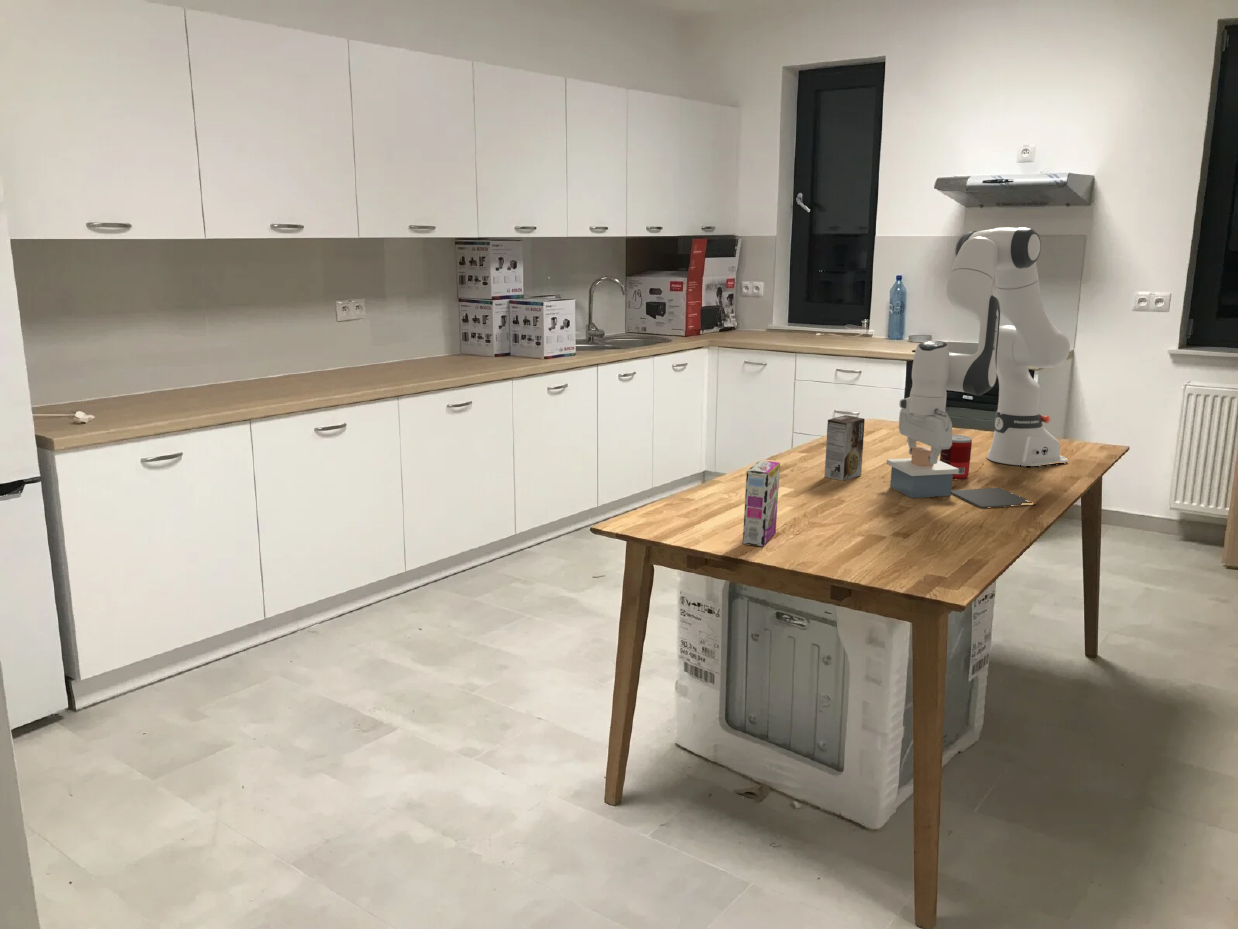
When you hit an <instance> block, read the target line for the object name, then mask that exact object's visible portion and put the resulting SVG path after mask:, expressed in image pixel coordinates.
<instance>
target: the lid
mask: <svg viewBox="0 0 1238 929" xmlns="http://www.w3.org/2000/svg"><path fill="white" fill-rule="evenodd" d="M931 453H932V451H931V447H928V446H917V447H914V448H912V455H911V457H909V458H890V459H889V458H888V459H887V458H886V465H888V466H890V467H891V468H892V467H894V468H896V469H898V470H900V471H902V472H904V473H906V474H909V475H911V476H923V475H942V474H959V469H958V468H956V467H953V466H951V465H949V464H946V463H944V462H942V461H940V459H938V460H937V464H931V463H929V462H928V456H930V455H931Z"/></svg>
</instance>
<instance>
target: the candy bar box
mask: <svg viewBox="0 0 1238 929" xmlns="http://www.w3.org/2000/svg"><path fill="white" fill-rule="evenodd" d="M780 469H781V463H780V462H777V461H769V460H759V461H757V462H756V463H755V464H753V465H752V466H751V467H749V469H747V470H746V478H745V479H746V480H745V494H744V514H743V529H742V530H743V532H742V533H743V534H742V545H745V544H750V545H749V546H751V545H757V546H756V547H758V546H762V547H761V548H764V547H765V546H764V545H767V544H768V543H769V541H770V540H771V539H772V538H773V537H774V535H775V534H776V531H777V518H778V517H777V515H778V514H777V513H778V502H779V501H778V500H779V499H778V498H779V488H780V487H779V486H780V485H779V484H780ZM770 538H771V539H770ZM769 539H770V540H769ZM763 546H764V547H763Z"/></svg>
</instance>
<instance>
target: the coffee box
mask: <svg viewBox="0 0 1238 929" xmlns="http://www.w3.org/2000/svg"><path fill="white" fill-rule="evenodd" d="M865 419H866V418H863V417H862V418H861V417H858V416H854V415H841V416H838V417H834V418H830V419H827V427H826V428H827V429H826V445H825V462H824V464H825V465H824V476H825V477H824V478H826V477H828V478H827V479H832V480H835V479H838V480H837V481H840V480H841V482H845V480H846V481H848V480H851V479H854V478H857V477H860V476H862V468H863V467H862V466H863V455H864V454H863V452H864V436H865V435H864V434H865Z"/></svg>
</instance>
